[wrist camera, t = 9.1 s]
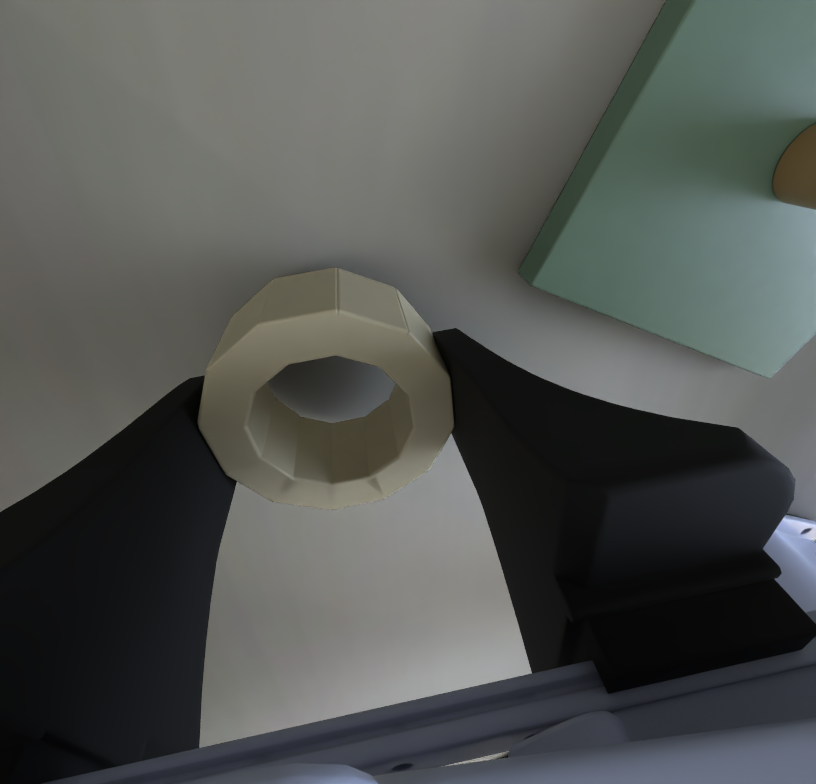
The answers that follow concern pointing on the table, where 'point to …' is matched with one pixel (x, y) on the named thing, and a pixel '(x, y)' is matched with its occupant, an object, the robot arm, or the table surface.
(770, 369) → the tape stand
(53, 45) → the table surface
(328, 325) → the tape roll
